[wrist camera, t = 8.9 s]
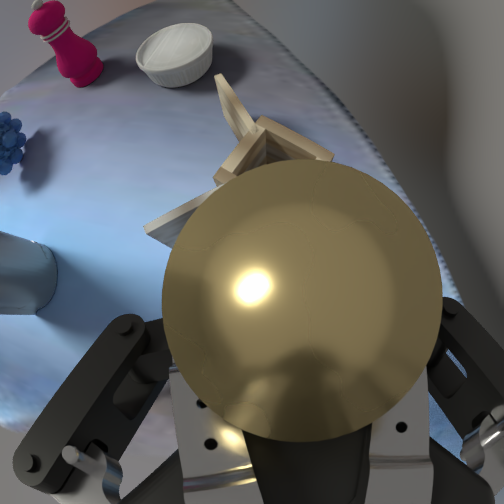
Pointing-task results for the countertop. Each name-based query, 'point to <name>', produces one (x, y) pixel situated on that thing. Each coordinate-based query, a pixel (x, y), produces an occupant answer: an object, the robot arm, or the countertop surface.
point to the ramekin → (176, 54)
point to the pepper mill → (65, 43)
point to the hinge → (240, 158)
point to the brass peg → (302, 300)
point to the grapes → (10, 142)
